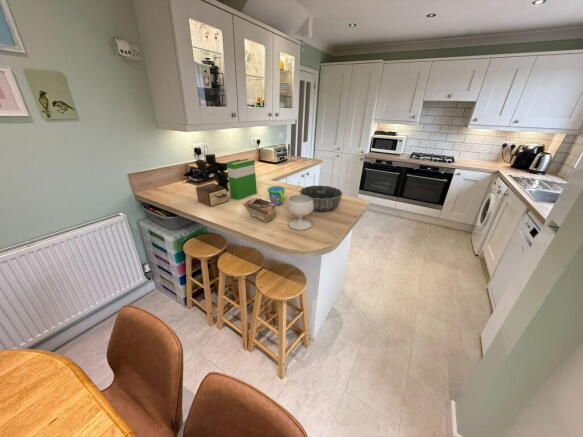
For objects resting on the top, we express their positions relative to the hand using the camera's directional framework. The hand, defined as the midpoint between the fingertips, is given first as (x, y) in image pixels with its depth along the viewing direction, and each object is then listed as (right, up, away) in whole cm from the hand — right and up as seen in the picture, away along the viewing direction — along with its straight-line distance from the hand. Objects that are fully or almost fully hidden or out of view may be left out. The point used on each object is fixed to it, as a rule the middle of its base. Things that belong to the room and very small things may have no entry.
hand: (187, 176), depth 150 cm
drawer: (+17, -16, +3) cm, 24 cm away
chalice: (+72, -31, -25) cm, 82 cm away
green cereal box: (+33, -11, +16) cm, 38 cm away
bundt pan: (+85, -20, -2) cm, 88 cm away
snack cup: (+57, -17, +2) cm, 60 cm away
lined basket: (+48, -27, -17) cm, 57 cm away
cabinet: (+14, -15, +6) cm, 22 cm away
